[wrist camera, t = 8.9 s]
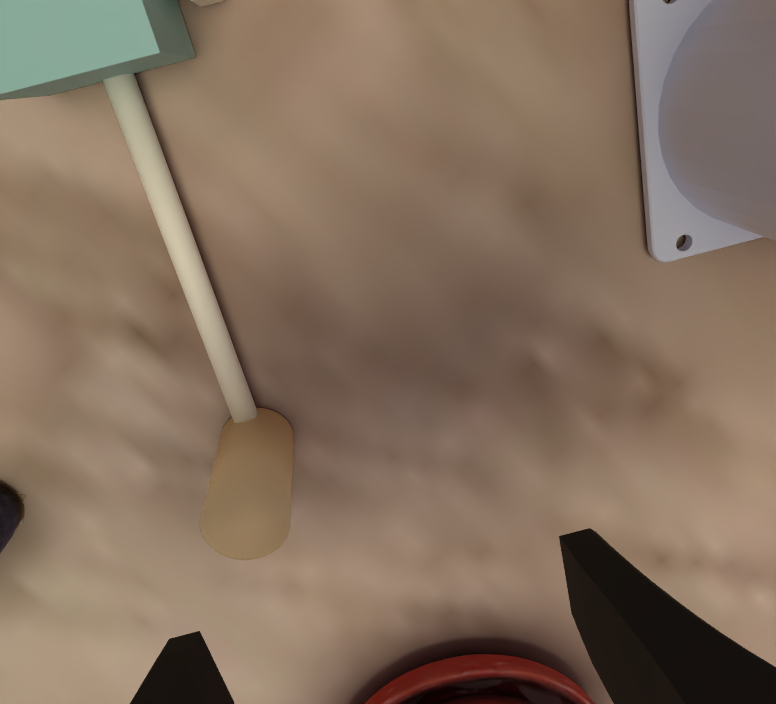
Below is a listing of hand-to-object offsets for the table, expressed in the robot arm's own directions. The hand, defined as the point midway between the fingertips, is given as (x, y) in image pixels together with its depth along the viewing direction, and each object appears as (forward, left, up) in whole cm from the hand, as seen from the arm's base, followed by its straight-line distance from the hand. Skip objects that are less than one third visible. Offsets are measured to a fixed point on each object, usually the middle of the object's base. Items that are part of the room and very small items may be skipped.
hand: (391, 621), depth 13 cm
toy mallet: (+4, -7, -10) cm, 12 cm away
